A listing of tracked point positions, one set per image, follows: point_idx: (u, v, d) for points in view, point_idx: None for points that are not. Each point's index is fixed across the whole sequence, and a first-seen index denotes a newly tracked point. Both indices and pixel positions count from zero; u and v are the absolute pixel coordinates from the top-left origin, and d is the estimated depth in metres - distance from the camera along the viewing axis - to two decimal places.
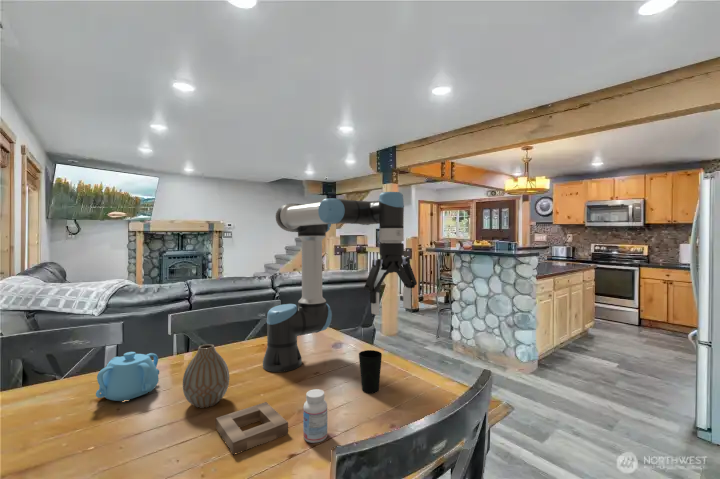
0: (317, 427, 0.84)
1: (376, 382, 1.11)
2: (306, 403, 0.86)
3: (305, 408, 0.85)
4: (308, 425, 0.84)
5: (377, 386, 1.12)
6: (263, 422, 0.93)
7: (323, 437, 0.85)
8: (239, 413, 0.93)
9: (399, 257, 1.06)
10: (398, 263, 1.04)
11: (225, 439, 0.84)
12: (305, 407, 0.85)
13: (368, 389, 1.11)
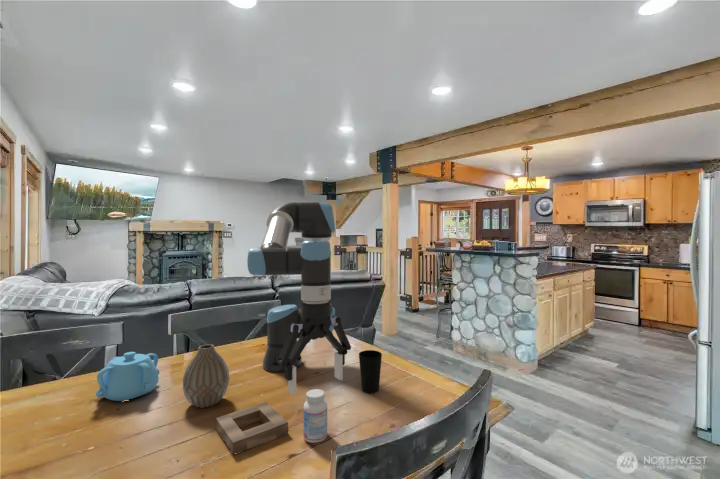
0: (317, 427, 0.84)
1: (376, 382, 1.11)
2: (306, 403, 0.86)
3: (305, 408, 0.85)
4: (308, 425, 0.84)
5: (377, 386, 1.12)
6: (263, 422, 0.93)
7: (323, 437, 0.85)
8: (239, 413, 0.93)
9: (326, 319, 0.87)
10: (323, 327, 0.85)
11: (225, 439, 0.84)
12: (305, 407, 0.85)
13: (368, 389, 1.11)
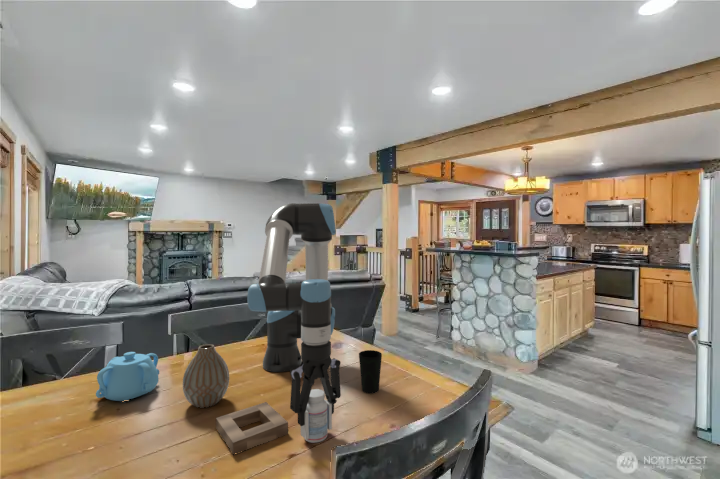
0: (317, 427, 0.84)
1: (376, 382, 1.11)
2: None
3: None
4: (309, 425, 0.84)
5: (377, 386, 1.12)
6: (263, 422, 0.93)
7: (323, 437, 0.85)
8: (239, 413, 0.93)
9: (326, 358, 0.87)
10: (323, 367, 0.86)
11: (225, 439, 0.84)
12: None
13: (368, 389, 1.11)
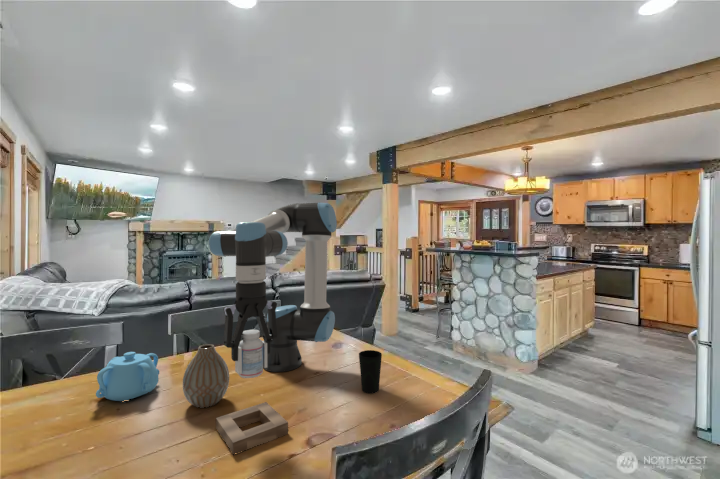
0: (250, 363, 0.87)
1: (376, 382, 1.11)
2: (241, 341, 0.89)
3: (239, 345, 0.87)
4: (242, 361, 0.87)
5: (377, 386, 1.12)
6: (263, 422, 0.93)
7: (257, 373, 0.87)
8: (239, 413, 0.93)
9: (261, 298, 0.90)
10: (257, 306, 0.88)
11: (225, 439, 0.84)
12: (240, 344, 0.88)
13: (368, 389, 1.11)
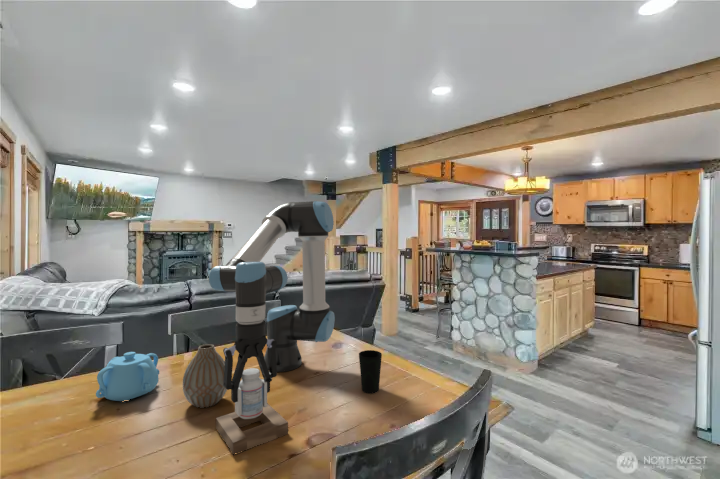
0: (250, 404, 0.87)
1: (376, 382, 1.11)
2: (241, 381, 0.89)
3: (239, 385, 0.88)
4: (242, 402, 0.87)
5: (377, 386, 1.12)
6: (263, 422, 0.93)
7: (257, 414, 0.87)
8: None
9: (261, 338, 0.90)
10: (257, 346, 0.88)
11: (225, 439, 0.84)
12: (239, 385, 0.88)
13: (368, 389, 1.11)
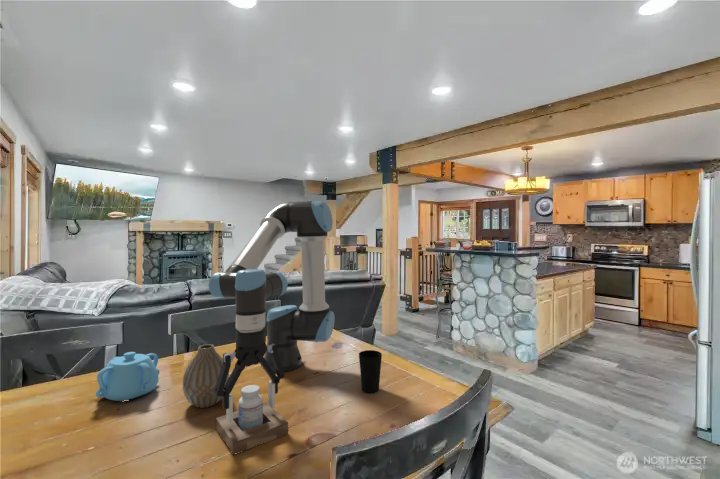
0: (250, 421, 0.87)
1: (376, 382, 1.11)
2: (241, 398, 0.89)
3: (239, 403, 0.88)
4: (242, 420, 0.87)
5: (377, 386, 1.12)
6: (263, 422, 0.93)
7: None
8: None
9: (261, 346, 0.90)
10: (257, 354, 0.88)
11: (225, 439, 0.84)
12: (239, 402, 0.88)
13: (368, 389, 1.11)
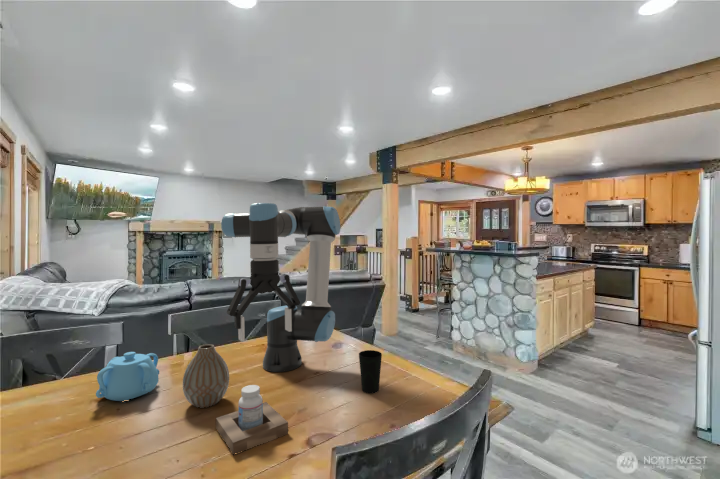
0: (250, 421, 0.87)
1: (376, 382, 1.11)
2: (241, 398, 0.89)
3: (239, 403, 0.88)
4: (242, 419, 0.87)
5: (377, 386, 1.12)
6: (263, 422, 0.93)
7: None
8: None
9: (274, 275, 0.95)
10: (271, 282, 0.94)
11: (225, 439, 0.84)
12: (239, 402, 0.88)
13: (368, 389, 1.11)
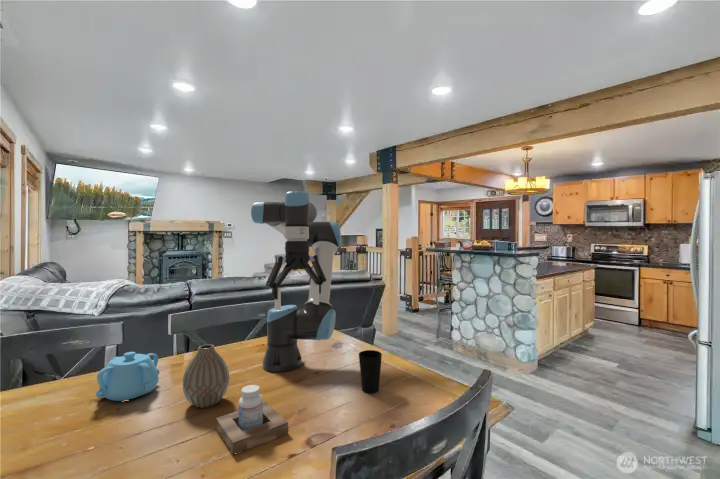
0: (250, 421, 0.87)
1: (376, 382, 1.11)
2: (241, 398, 0.89)
3: (239, 403, 0.88)
4: (242, 419, 0.87)
5: (377, 386, 1.12)
6: (263, 422, 0.93)
7: None
8: None
9: (305, 254, 1.09)
10: (303, 260, 1.08)
11: (225, 439, 0.84)
12: (239, 402, 0.88)
13: (368, 389, 1.11)
